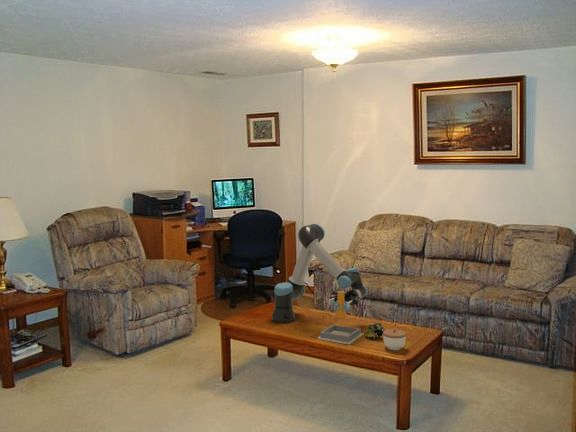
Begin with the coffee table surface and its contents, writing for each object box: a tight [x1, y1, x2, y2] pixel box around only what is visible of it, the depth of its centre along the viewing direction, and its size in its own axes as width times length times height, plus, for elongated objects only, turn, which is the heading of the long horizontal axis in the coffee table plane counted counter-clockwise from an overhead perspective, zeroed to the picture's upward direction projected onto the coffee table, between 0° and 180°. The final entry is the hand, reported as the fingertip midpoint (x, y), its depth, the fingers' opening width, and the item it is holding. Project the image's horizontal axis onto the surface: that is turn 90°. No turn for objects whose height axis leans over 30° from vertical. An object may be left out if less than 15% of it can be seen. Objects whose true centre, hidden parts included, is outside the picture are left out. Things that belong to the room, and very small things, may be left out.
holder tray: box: [317, 324, 364, 345], centre depth 340 cm, size 20×20×4 cm
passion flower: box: [363, 322, 386, 341], centre depth 337 cm, size 11×11×12 cm
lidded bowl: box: [382, 328, 407, 351], centre depth 320 cm, size 13×13×11 cm
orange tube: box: [330, 290, 352, 319], centre depth 338 cm, size 12×10×15 cm
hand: (338, 303), depth 334 cm, fingers closed on orange tube, 11 cm apart
